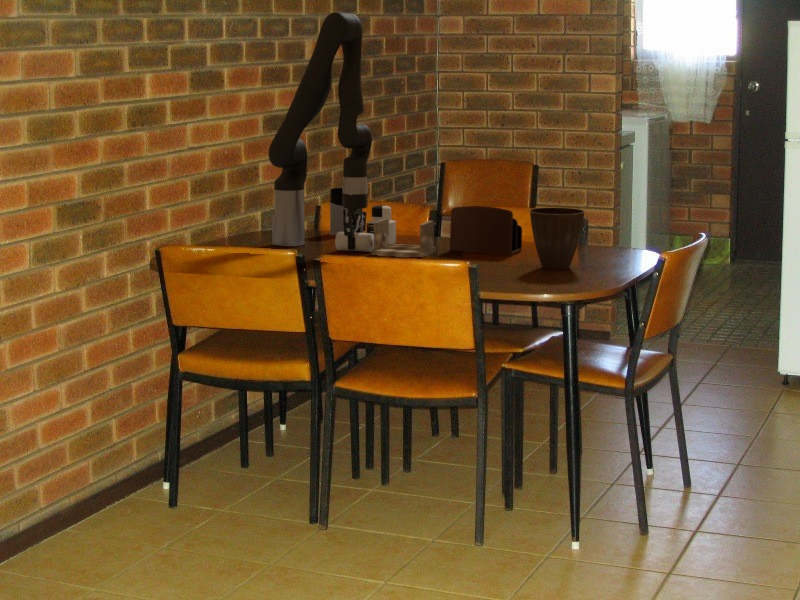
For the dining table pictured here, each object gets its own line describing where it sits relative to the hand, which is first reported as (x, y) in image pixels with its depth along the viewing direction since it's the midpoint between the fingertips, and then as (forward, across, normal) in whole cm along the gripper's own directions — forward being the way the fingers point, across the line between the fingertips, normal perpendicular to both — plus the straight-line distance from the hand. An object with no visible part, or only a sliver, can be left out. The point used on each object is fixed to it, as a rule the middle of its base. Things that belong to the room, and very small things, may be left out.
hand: (355, 247), depth 363 cm
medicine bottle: (+1, -18, +2) cm, 18 cm away
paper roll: (-2, 0, 0) cm, 2 cm away
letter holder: (+1, -15, +37) cm, 40 cm away
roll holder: (+1, -1, +15) cm, 15 cm away
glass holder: (+1, -34, -15) cm, 37 cm away
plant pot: (+1, +10, +63) cm, 64 cm away
